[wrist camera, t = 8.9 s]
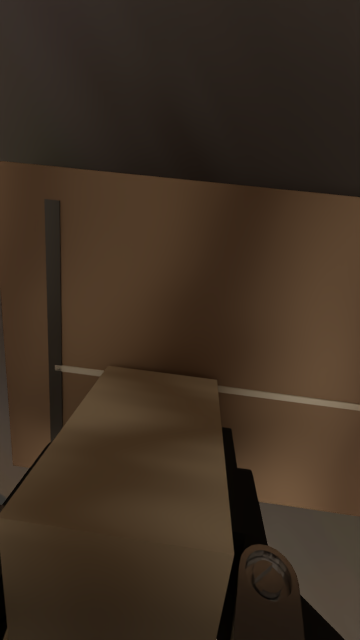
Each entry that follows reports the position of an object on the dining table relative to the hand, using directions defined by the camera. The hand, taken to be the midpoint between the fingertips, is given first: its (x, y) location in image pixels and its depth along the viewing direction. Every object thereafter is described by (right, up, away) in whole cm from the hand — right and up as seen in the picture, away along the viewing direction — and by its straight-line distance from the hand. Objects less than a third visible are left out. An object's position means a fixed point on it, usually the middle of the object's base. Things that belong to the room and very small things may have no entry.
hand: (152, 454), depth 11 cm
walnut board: (+9, +3, +2) cm, 10 cm away
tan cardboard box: (0, 0, +4) cm, 4 cm away
